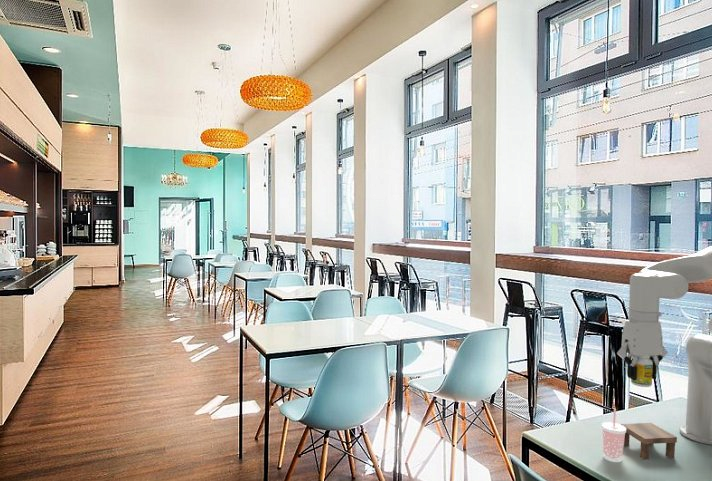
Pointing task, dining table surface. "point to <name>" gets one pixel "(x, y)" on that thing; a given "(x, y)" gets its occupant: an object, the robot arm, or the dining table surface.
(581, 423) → the dining table surface
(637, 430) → the footstool
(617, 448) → the beverage cup
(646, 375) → the supplement bottle
